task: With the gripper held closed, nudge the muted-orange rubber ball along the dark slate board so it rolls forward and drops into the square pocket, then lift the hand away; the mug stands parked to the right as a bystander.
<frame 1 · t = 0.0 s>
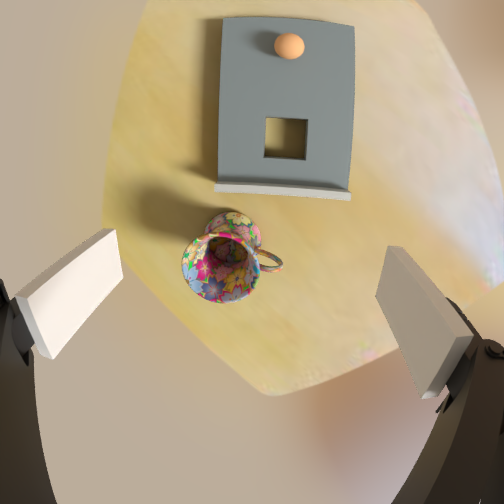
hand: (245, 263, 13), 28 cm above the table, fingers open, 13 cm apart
ball: (288, 50, 29), point 3 cm above the table, touching board
mug: (242, 237, 43), on the table
board: (286, 102, 34), on the table
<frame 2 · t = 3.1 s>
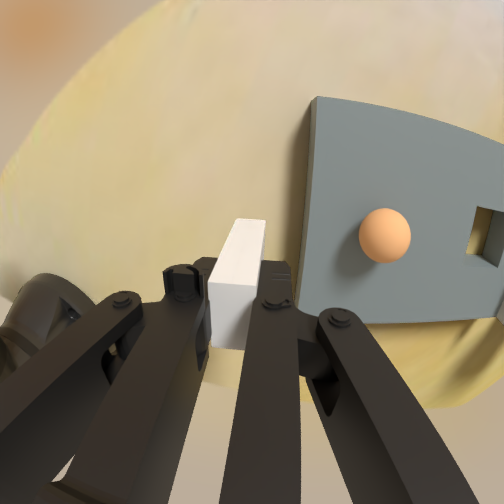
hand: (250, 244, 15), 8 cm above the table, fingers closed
ball: (376, 226, 19), point 3 cm above the table, touching board
board: (433, 222, 21), on the table
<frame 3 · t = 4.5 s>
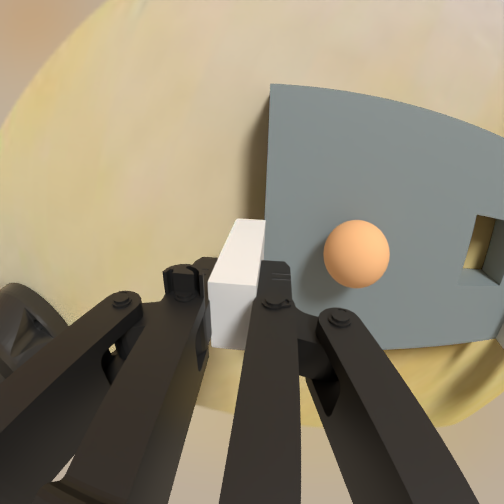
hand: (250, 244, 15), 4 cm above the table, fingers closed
ball: (349, 241, 16), point 3 cm above the table, touching board
board: (425, 233, 18), on the table
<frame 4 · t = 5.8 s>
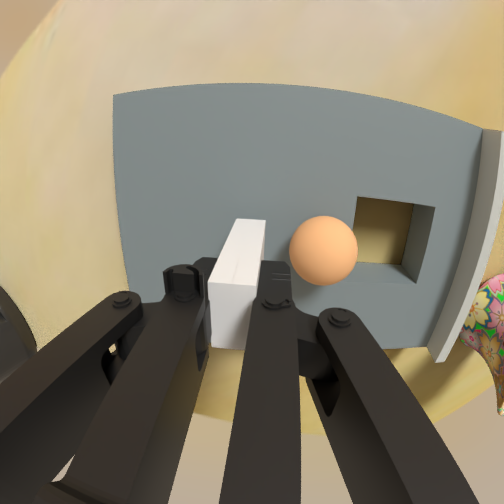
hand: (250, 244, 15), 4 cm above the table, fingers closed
ball: (354, 261, 13), point 6 cm above the table, tilted 129°, touching board
mug: (490, 294, 20), on the table
board: (307, 222, 19), on the table
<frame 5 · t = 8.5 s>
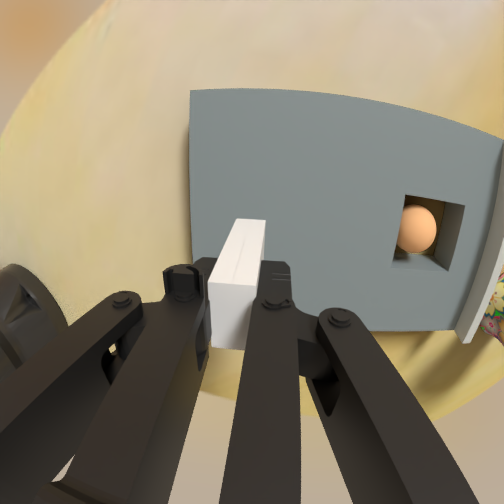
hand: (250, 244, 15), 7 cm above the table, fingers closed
ball: (397, 220, 20), resting in board, tilted 26°
board: (358, 216, 21), on the table
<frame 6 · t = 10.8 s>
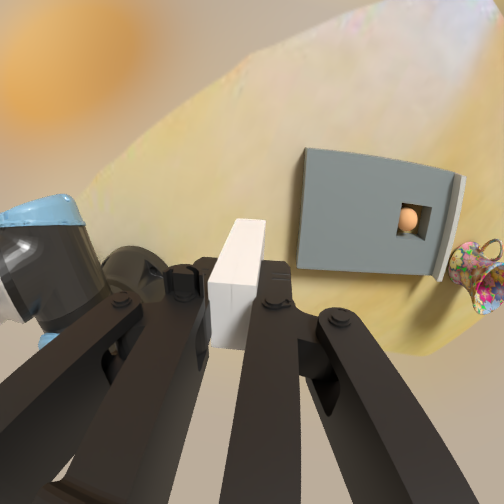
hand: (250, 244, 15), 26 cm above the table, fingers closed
ball: (397, 215, 39), resting in board, tilted 27°
mug: (465, 254, 41), on the table
board: (378, 213, 40), on the table
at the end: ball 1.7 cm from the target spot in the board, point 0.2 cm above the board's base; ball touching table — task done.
